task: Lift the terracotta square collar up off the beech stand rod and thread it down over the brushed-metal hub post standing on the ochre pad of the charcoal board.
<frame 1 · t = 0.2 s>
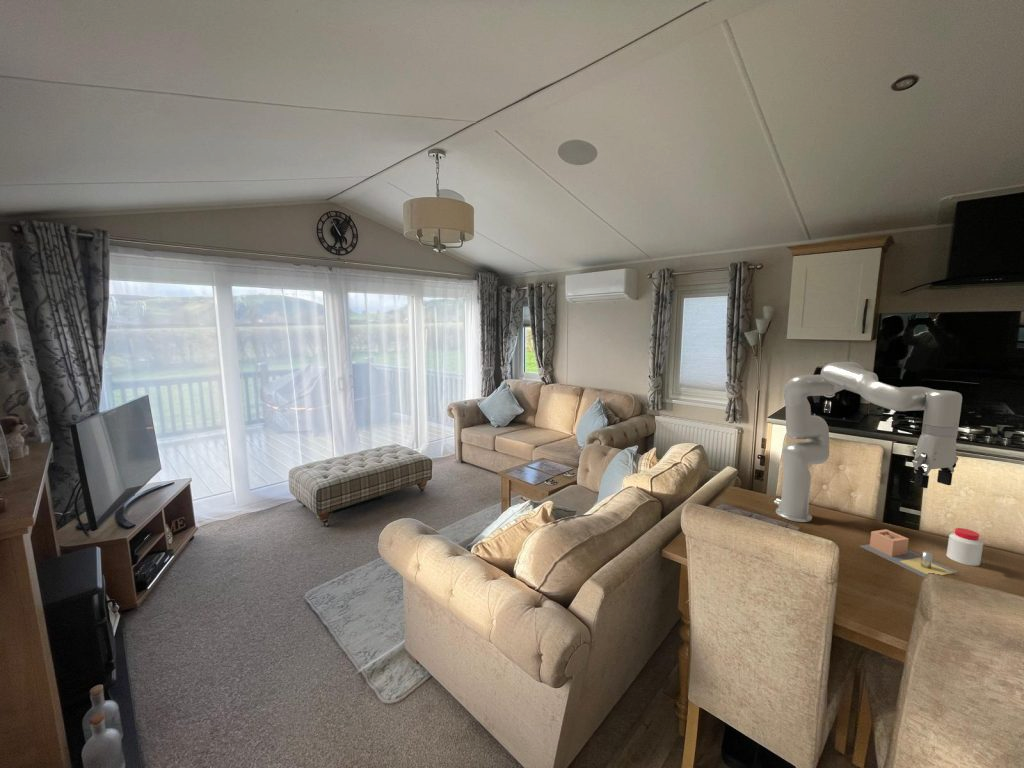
hand: (932, 485, 127), 30 cm above the table, fingers open, 9 cm apart
post board: (905, 561, 139), on the table
collar: (887, 549, 145), point 1 cm above the table, touching post board
pill bottle: (962, 563, 139), on the table
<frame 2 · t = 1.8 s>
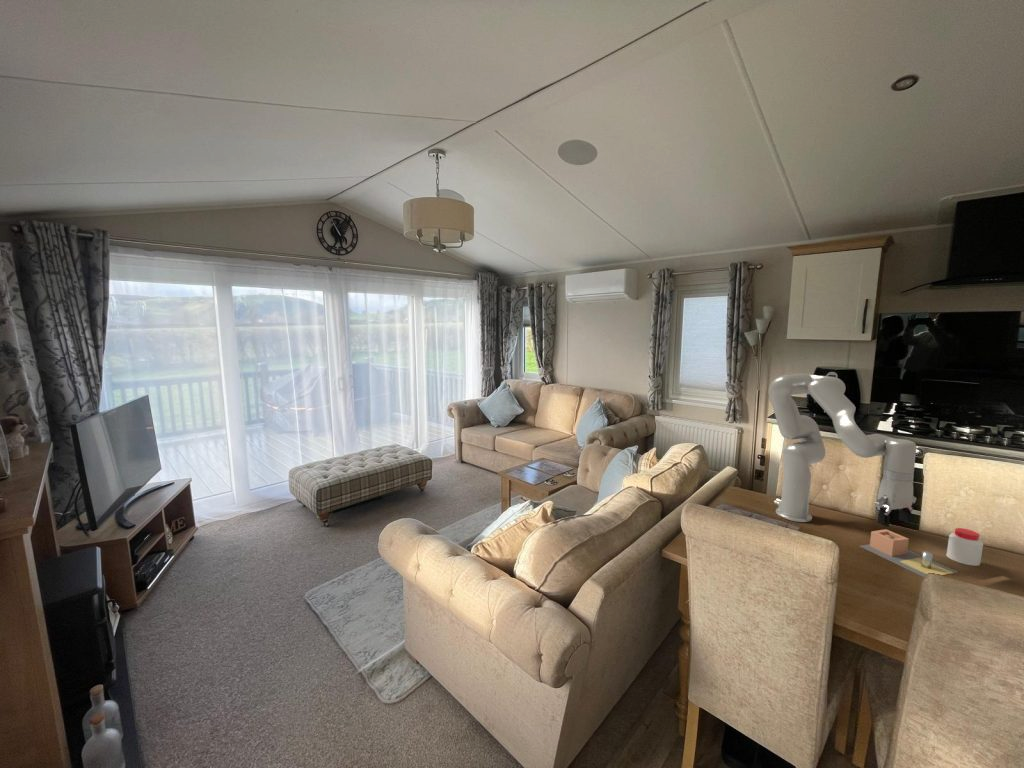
hand: (893, 523, 143), 11 cm above the table, fingers open, 9 cm apart
nothing on the table moved.
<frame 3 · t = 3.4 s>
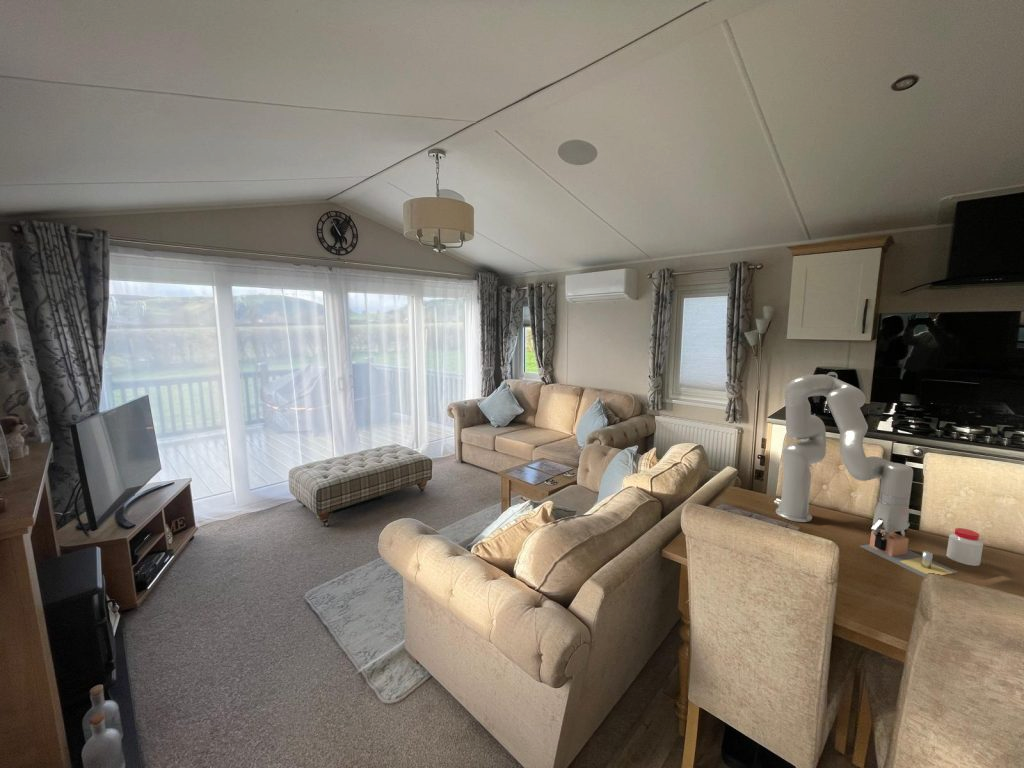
hand: (888, 546, 144), 2 cm above the table, fingers closed on collar, 7 cm apart
collar: (887, 549, 145), point 1 cm above the table, touching gripper, post board
everything else where it was.
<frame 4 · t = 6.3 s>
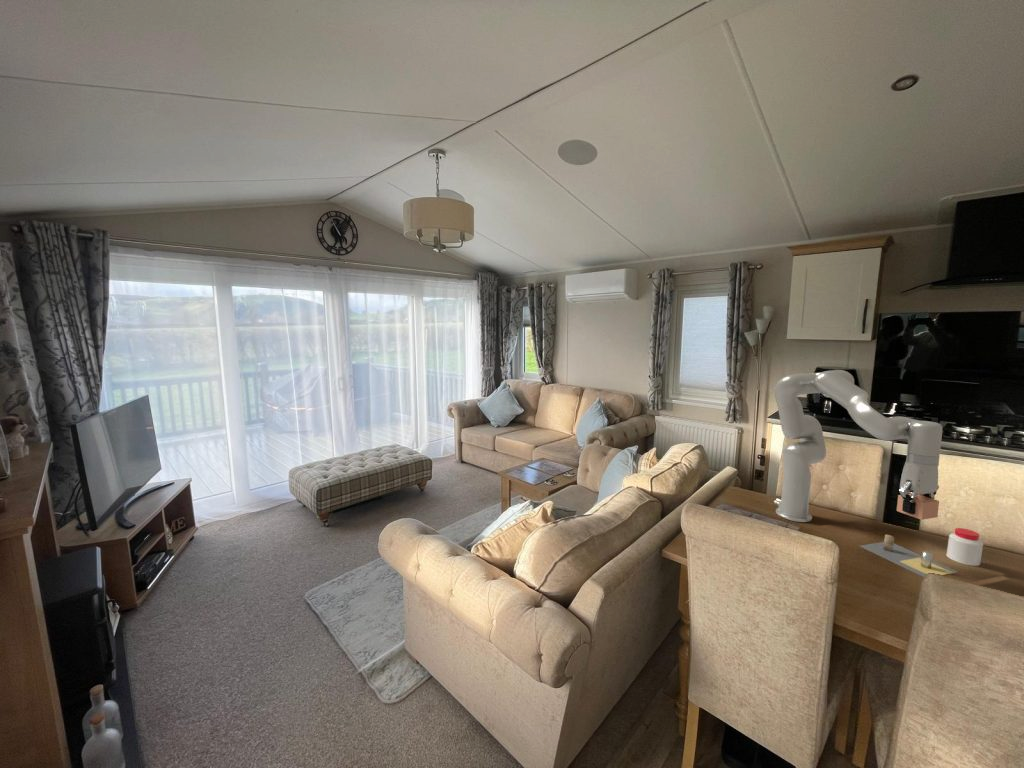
hand: (917, 510, 136), 19 cm above the table, fingers closed on collar, 7 cm apart
collar: (916, 514, 136), point 18 cm above the table, touching gripper
everything else where it was.
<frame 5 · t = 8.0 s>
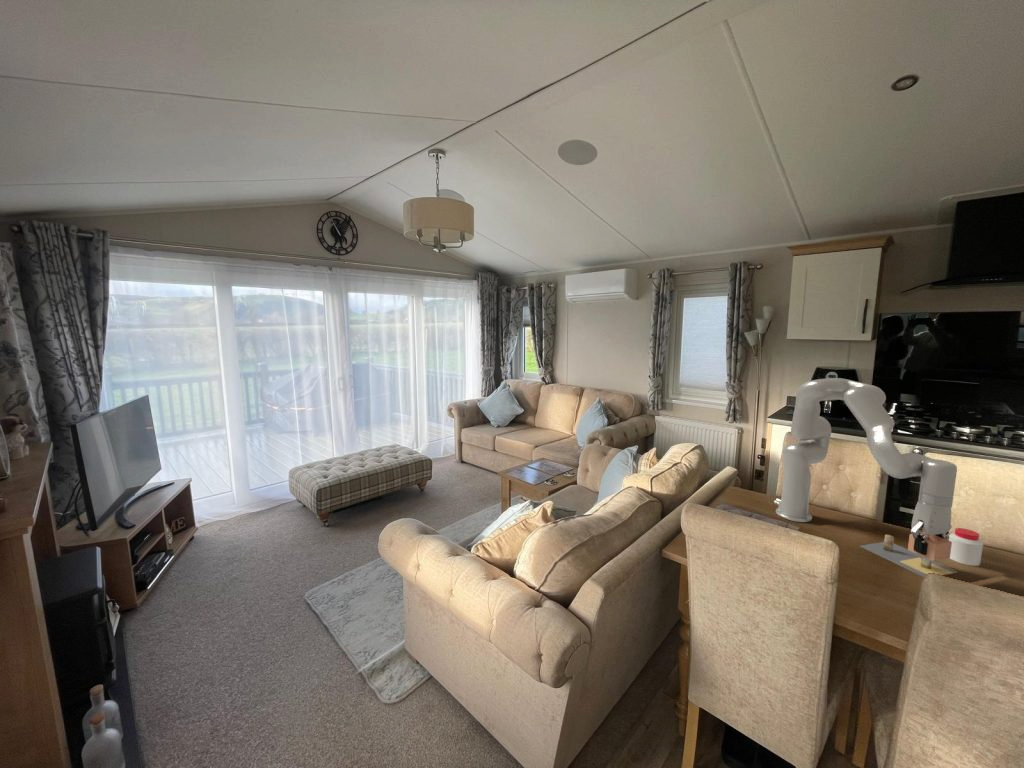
hand: (928, 550, 133), 7 cm above the table, fingers closed on collar, 7 cm apart
collar: (928, 553, 133), point 6 cm above the table, touching gripper
everything else where it was.
when the fingers open (3 cm above the table, at t = 9.2 s): collar stays where it is, resting on post board.
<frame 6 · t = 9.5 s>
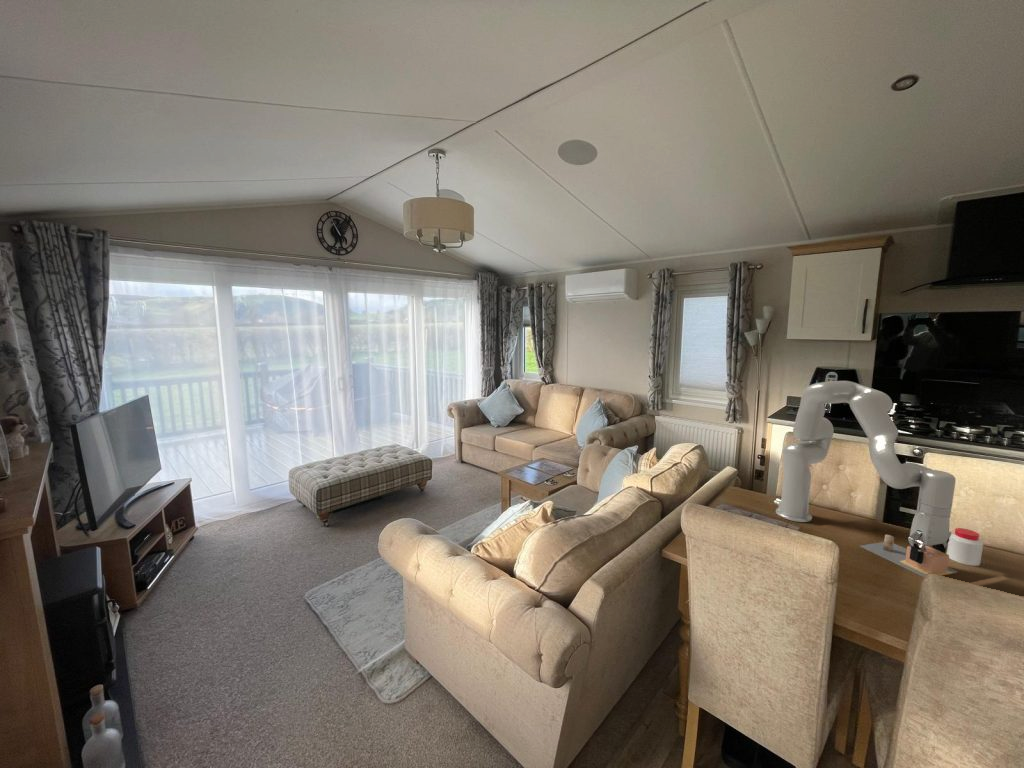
hand: (926, 559, 134), 4 cm above the table, fingers open, 9 cm apart
collar: (925, 566, 134), point 1 cm above the table, touching post board
everything else where it was.
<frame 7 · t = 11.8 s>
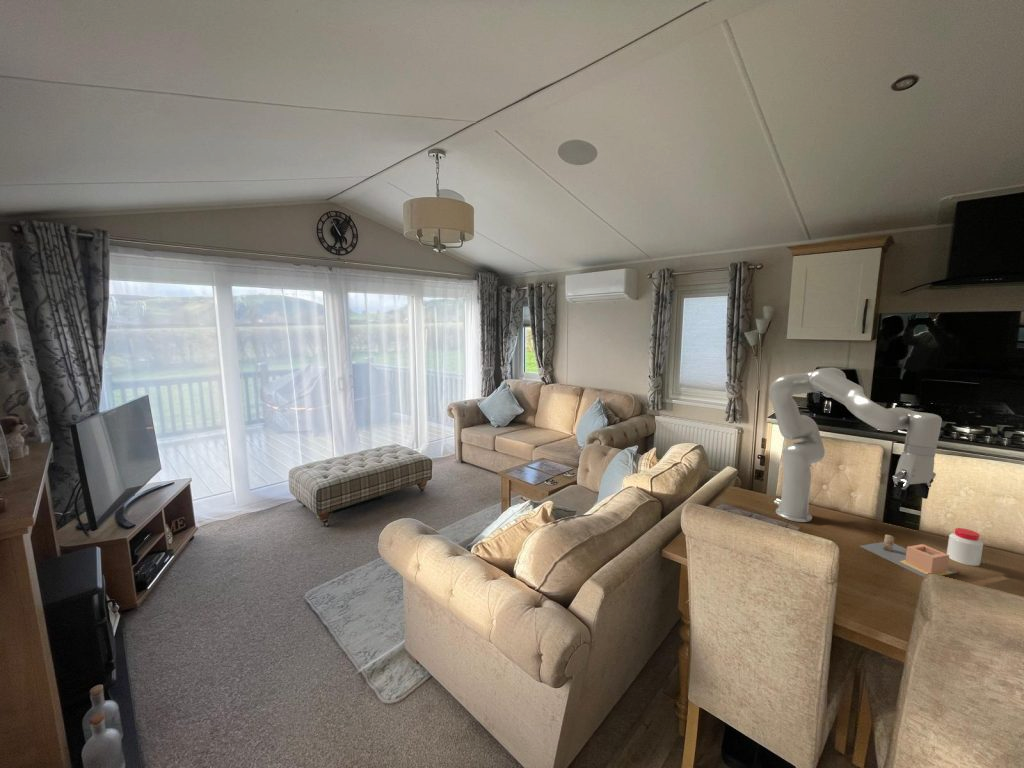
hand: (910, 498, 139), 21 cm above the table, fingers open, 9 cm apart
nothing on the table moved.
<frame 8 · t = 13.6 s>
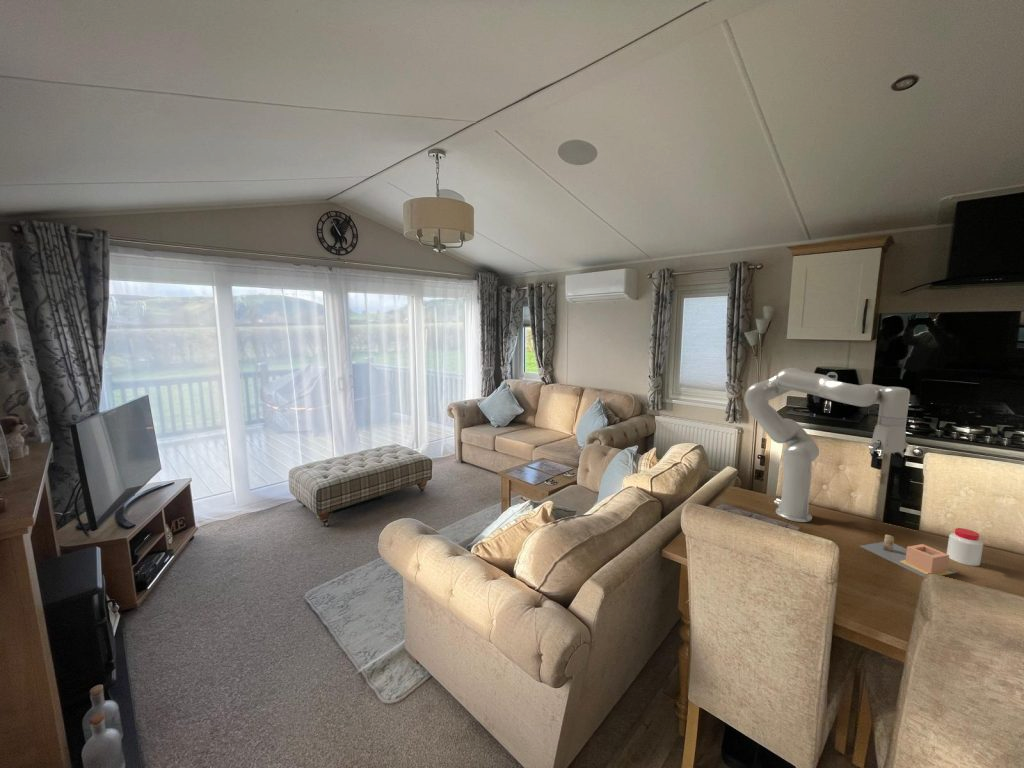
hand: (886, 467, 150), 28 cm above the table, fingers open, 9 cm apart
nothing on the table moved.
at the end: collar 0.1 cm from the target spot, point 1.4 cm above the table; collar tilted 0°; the gripper is holding nothing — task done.
